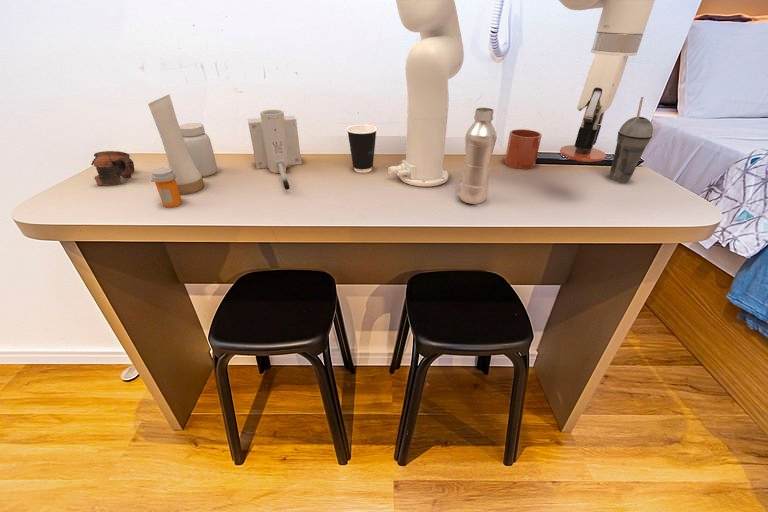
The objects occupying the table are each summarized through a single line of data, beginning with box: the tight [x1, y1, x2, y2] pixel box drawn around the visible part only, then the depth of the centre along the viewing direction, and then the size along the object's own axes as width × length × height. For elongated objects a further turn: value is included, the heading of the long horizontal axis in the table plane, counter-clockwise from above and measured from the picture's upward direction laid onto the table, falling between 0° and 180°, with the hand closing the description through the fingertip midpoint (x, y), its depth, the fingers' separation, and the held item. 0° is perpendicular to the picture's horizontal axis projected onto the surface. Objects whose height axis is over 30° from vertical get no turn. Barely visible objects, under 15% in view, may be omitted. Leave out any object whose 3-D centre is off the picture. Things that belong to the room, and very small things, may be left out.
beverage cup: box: [608, 96, 654, 184], centre depth 93 cm, size 7×7×20 cm
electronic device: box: [247, 109, 302, 191], centre depth 96 cm, size 12×26×15 cm, turn 18°
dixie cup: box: [345, 124, 378, 174], centre depth 102 cm, size 8×8×11 cm
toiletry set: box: [147, 94, 218, 209], centre depth 89 cm, size 25×8×20 cm, turn 2°
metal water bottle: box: [458, 107, 498, 205], centre depth 82 cm, size 6×7×20 cm
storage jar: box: [504, 128, 543, 170], centre depth 106 cm, size 8×8×8 cm
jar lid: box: [559, 124, 607, 163], centre depth 79 cm, size 9×9×7 cm
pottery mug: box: [90, 150, 136, 186], centre depth 97 cm, size 12×10×8 cm
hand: (584, 144), depth 79 cm, fingers closed on jar lid, 3 cm apart
